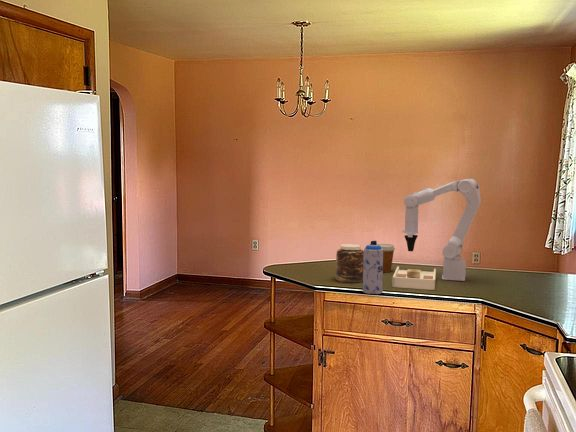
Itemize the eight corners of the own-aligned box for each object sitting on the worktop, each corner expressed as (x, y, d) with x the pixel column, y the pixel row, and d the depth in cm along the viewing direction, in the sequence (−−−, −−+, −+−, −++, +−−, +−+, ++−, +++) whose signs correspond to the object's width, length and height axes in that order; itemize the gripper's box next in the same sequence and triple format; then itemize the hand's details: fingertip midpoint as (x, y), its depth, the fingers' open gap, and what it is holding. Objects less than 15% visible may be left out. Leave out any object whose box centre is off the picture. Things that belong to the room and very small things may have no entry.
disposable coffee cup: (389, 273, 241) (389, 247, 240) (370, 271, 247) (370, 245, 246) (397, 270, 249) (398, 244, 248) (379, 268, 255) (379, 243, 253)
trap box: (435, 277, 234) (435, 268, 233) (434, 290, 211) (435, 280, 211) (397, 275, 239) (397, 266, 238) (392, 287, 216) (392, 277, 215)
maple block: (420, 279, 219) (420, 269, 218) (419, 281, 214) (419, 272, 213) (407, 278, 220) (407, 269, 220) (406, 281, 215) (407, 271, 215)
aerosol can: (377, 294, 203) (379, 243, 201) (359, 292, 207) (360, 241, 205) (385, 290, 209) (387, 240, 207) (367, 288, 213) (368, 238, 211)
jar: (355, 276, 236) (355, 242, 235) (368, 281, 225) (369, 246, 224) (331, 278, 232) (331, 244, 230) (344, 283, 221) (344, 248, 219)
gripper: (403, 219, 247) (402, 248, 249) (401, 222, 234) (400, 253, 235) (419, 219, 245) (418, 248, 247) (417, 223, 232) (416, 254, 233)
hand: (410, 251), depth 241 cm, fingers closed
